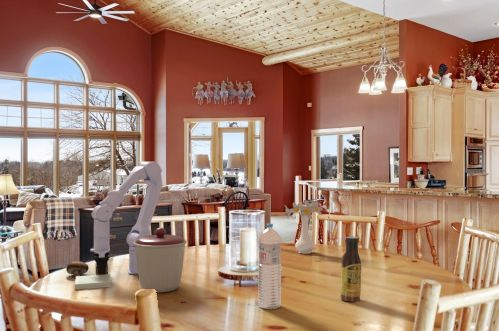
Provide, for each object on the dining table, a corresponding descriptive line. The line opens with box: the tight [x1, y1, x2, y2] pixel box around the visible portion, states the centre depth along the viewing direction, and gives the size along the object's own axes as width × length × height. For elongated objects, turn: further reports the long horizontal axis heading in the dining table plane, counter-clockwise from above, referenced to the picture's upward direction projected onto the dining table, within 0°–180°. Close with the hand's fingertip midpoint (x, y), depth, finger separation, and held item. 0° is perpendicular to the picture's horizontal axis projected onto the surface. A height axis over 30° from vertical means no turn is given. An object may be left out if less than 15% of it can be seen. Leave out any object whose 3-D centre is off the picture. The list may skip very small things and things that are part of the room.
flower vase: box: [284, 200, 324, 255], centre depth 232 cm, size 13×18×25 cm
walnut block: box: [95, 262, 109, 275], centre depth 183 cm, size 4×4×5 cm
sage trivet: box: [74, 273, 112, 290], centre depth 172 cm, size 12×12×2 cm
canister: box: [133, 227, 188, 294], centre depth 166 cm, size 18×18×21 cm
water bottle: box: [257, 223, 282, 310], centre depth 146 cm, size 7×7×25 cm
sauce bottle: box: [340, 236, 362, 303], centre depth 153 cm, size 7×6×20 cm
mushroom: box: [65, 260, 89, 277], centre depth 185 cm, size 8×8×6 cm
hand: (101, 273), depth 183 cm, fingers open, 6 cm apart
